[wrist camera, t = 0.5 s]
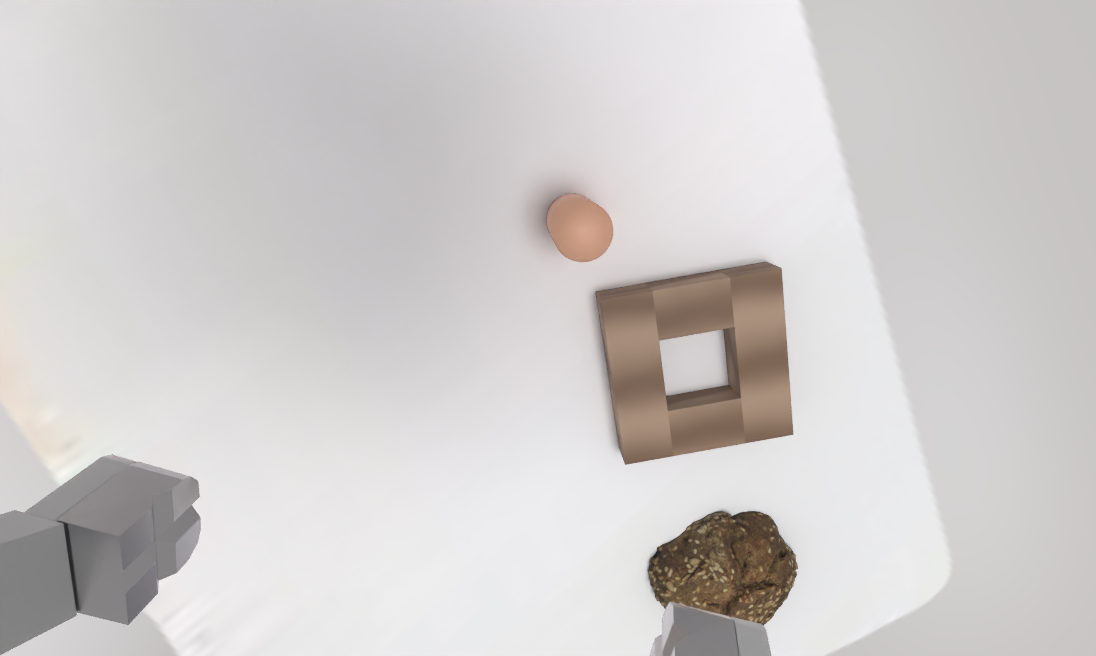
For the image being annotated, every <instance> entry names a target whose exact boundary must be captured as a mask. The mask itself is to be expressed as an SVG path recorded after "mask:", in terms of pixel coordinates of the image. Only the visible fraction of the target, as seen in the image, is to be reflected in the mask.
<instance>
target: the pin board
mask: <svg viewBox="0 0 1096 656" xmlns="http://www.w3.org/2000/svg"><path fill="white" fill-rule="evenodd" d="M596 296H597V303H598V310H599V316H600V323H601V330H602V336H603V343H604V350H605V356H606V363H607V370H608V376H609V383H610V390H611V396H612V403H613V410H614V416H615V423H616V430H617V436H618V443H619V449H620V452H621V454H622V457H623V460H624V462H625V465H626V464H631V463H637V462H643V461H648V460H654V459H659V458H665V457H671V456H676V455H682V454H687V453H693V452H699V451H704V450H710V449H715V448H721V447H726V446H732V445H738V444H743V443H749V442H754V441H760V440H766V439H771V438H777V437H782V436H788V435H793V424H792V410H791V396H790V382H789V368H788V354H787V340H786V325H785V311H784V297H783V283H782V269H781V268H780V267H777V266H775V265H773V264H770V263H768V262H762V263H757V264H751V265H745V266H740V267H734V268H728V269H723V270H717V271H711V272H706V273H700V274H694V275H689V276H683V277H677V278H672V279H666V280H660V281H654V282H649V283H643V284H637V285H632V286H626V287H620V288H615V289H609V290H603V291H598V292H596ZM721 329H724V338H725V349H726V359H727V369H728V379H729V385H728V386H722V387H716V388H711V389H705V390H700V391H694V392H688V393H683V394H677V395H671V396H666V393H665V386H664V378H663V370H662V362H661V354H660V346H659V340H665V339H670V338H676V337H682V336H687V335H693V334H699V333H704V332H710V331H716V330H721Z"/></svg>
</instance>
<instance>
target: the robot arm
mask: <svg viewBox="0 0 1096 656" xmlns="http://www.w3.org/2000/svg"><path fill="white" fill-rule="evenodd" d="M199 497H200V496H199V485H198V481H197V480H196V479H194V478H192V477H190V476H187V475H183V474H180V473H176V472H173V471H169V470H166V469H162V468H159V467H155V466H152V465H148V464H145V463H142V462H136V461H132V460H129V459H125V458H122V457H119V456H115V455H108V456H104V457H101V458H99V459H98V460H97V461H95V462H94V463H92V464H91V465H90V466H88V467H87V468H85V469H84V470H83V471H81V472H80V473H78V474H77V475H76V476H74V477H73V478H71V479H70V480H69V481H67V482H66V483H64V484H63V485H62V486H60V487H59V488H57V489H56V490H55V491H53V492H52V493H50V494H49V495H48V496H47V497H45V498H44V499H42V500H41V501H39V502H38V503H37V504H35V505H34V506H32V507H31V508H30V509H28V510H27V511H25V512H24V513H23V512H19V511H11V512H8V513H5V514H1V515H0V655H1V654H3V653H5V652H7V651H9V650H11V649H13V648H15V647H17V646H19V645H21V644H22V643H24V642H26V641H28V640H30V639H32V638H34V637H36V636H38V635H40V634H42V633H44V632H46V631H48V630H50V629H51V628H54V627H55V626H57V625H59V624H61V623H63V622H65V621H67V620H69V619H71V618H73V617H75V616H76V615H77V612H78V613H82V614H86V615H90V616H94V617H98V618H103V619H106V620H110V621H114V622H119V623H122V624H127V625H129V624H130V622H132V620H133V619H134V618H135V617H136V616H137V615H138V614H139V613H140V612H141V611H142V610H143V609H144V608H145V607H146V605H147V604H148V603H149V602H150V601H151V600H152V599H153V598H154V597H155V596H156V595H157V594H158V583H159V580H161V579H163V578H166V577H168V576H170V575H173V574H175V573H177V572H178V571H179V570H180V569H181V568H182V566H183V565H184V564H185V563H186V562H187V561H188V560H189V558H190V556H191V554H192V552H193V550H194V548H195V547H196V545H197V543H198V538H199V534H200V530H201V524H200V516H199V515H198V514H197V512H196V511H195V509H194V508H193V506H192V504H193V503H194V502H195V501H196V500H197V499H198V498H199ZM650 656H771V652H770V647H769V642H768V637H767V632H766V629H765V628H764V626H763V625H762V624H759V623H755V622H751V621H747V620H743V619H738V618H734V617H729V616H725V615H721V614H718V613H714V612H710V611H706V610H702V609H698V608H694V607H690V606H686V605H682V604H678V603H674V602H669V604H668V605H667V607H666V609H665V612H664V615H663V617H662V635H660V636H658V637H656V638H655V640H654V643H653V646H652V649H651V652H650Z"/></svg>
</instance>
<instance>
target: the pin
mask: <svg viewBox="0 0 1096 656" xmlns="http://www.w3.org/2000/svg"><path fill="white" fill-rule="evenodd" d="M546 222H547V227H548V230H549V232H550V234H551V236H552V238H553V240H554V242H555V244H556V246H557V248H558V250H559V251H560V252H561V253H562V254H563V255H564V256H565V257H567V258H569V259H571V260H573V261H577V262H588V261H592V260H594V259H596V258H598V257H600V256H601V255H602V254H603V253H605V251H606V250H607V249H608V247H609V246H610V243H611V241H612V237H613V225H612V221H611V219H610V217H609V215H608V214H607V212H606V211H605V210H604V209H603V208H602V207H600V206H599V205H597V204H595V203H594V202H592V201H591V200H589V199H587V198H586V197H584V196H582V195H579V194H566V195H563V196H561V197H559V198H558V199H556V200H555V201H554V202H553V203H552V204H551V206H550V208H549V210H548V213H547V218H546Z"/></svg>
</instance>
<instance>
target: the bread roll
mask: <svg viewBox="0 0 1096 656" xmlns="http://www.w3.org/2000/svg"><path fill="white" fill-rule="evenodd" d="M657 549H658V550H657V552H656V555H654V556H653V557H652V559H651V561H650V566H649V575H650V585H651V586H652V587H654V590H655V598H656V600H657V601H660V603H661V605H662V606H664V608H665V609H666V607H667V605H668V604H669V602H674V603H678V604H682V605H686V606H690V607H694V608H698V609H702V610H706V611H710V612H714V613H718V614H721V615H725V616H729V617H734V618H738V619H743V620H747V621H751V622H755V623H759V624H762V625H764V624H766V623H767V622H768V621H769V620H770V619H771V618H772V617H773V616H774V613H775V612H776V610H777V609H778V608H779V607H780V606H781V605H782V604H783V602H784V600H786V599H787V597H788V594H789V592H790V590H791V588H792V587H793V585H794V581H795V577H796V575H797V573H796V571H795V570H796V569H798V566H797V563H796V558H795V557H796V555H795V554H794V553H793V551H792V550H791V548H790V547H788V546H787V545H786V544H785V543H784V540H783V538H782V537H781V536H780V535H779V532H778V528H777V526H776V524H775V523H774V521H773V520H772V519H771V517H769V516H768V515H765V514H763V513H759V512H742V513H738V514H736V515H734V516H732V517H731V515H730V514H726V513H724V512H718V513H713V514H709V515H707V516H706V517H705V518H704V519H702V520H698V521H695V522H693V523H692V525H690V526H688V527H687V529H686V530H685V531H684V532H683V533H682V534H681V535H680V536H679V537H677V538H676V539H675V540H673V541H671V542H668V543H665V544H663V545H661V546H659V547H658V548H657Z"/></svg>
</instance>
